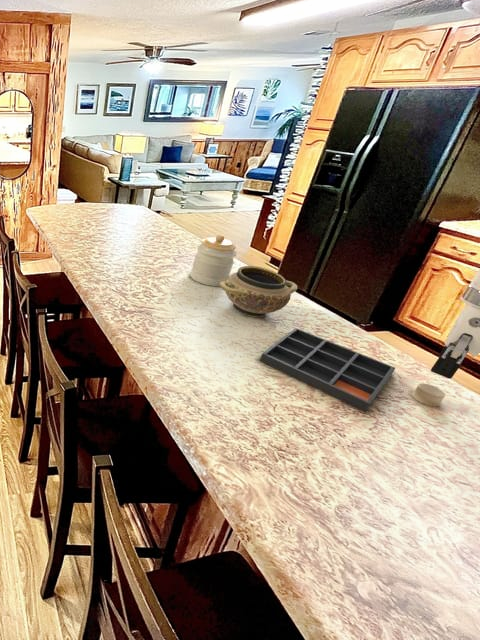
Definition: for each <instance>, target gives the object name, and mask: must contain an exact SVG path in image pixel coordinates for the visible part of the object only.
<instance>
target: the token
mask: <svg viewBox="0 0 480 640" xmlns="http://www.w3.org/2000/svg"><path fill="white" fill-rule="evenodd" d="M412 397H413V398H414V400H416V401H417V402H419V403H421V404H422V405H423V404H424V405H426V406H428V407H429V406H430V407H439V405H440V404H441V403H442V402H443V400H444V398H445V397H446V393H445V392H444V391H443V390H442V389H441V388H439V387H437V386H434V385H433V384H428V383H423V382H422V383H421V382H420V383H419V384H418V385H417V387H416V388H415V390H414V391H413V393H412Z"/></svg>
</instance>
